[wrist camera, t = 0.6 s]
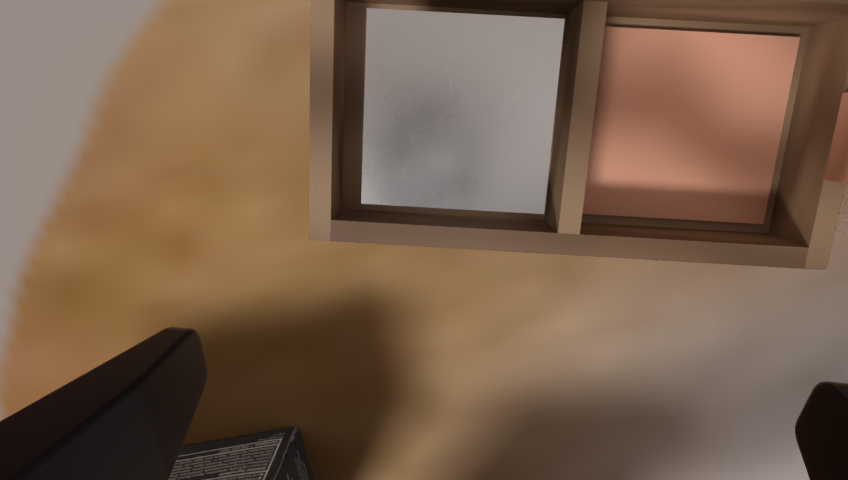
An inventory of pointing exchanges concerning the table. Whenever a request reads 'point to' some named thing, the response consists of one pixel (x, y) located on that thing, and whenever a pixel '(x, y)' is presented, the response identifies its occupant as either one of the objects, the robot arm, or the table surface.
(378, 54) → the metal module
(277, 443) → the small box
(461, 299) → the table surface
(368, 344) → the table surface
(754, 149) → the divided wooden tray
